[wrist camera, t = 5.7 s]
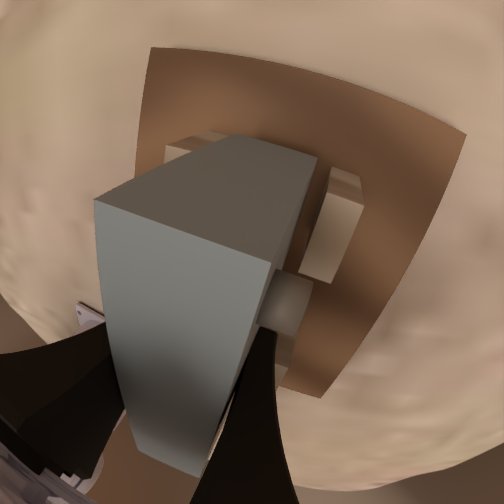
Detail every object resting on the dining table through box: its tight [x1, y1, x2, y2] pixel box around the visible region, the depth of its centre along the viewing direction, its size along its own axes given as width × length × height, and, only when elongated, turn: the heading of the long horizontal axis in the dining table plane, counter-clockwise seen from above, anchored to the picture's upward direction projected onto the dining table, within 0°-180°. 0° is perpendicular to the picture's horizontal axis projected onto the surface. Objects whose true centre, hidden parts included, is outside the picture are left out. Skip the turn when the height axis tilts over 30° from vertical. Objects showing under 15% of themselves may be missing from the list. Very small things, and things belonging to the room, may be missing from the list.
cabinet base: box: [135, 47, 466, 398], centre depth 14 cm, size 18×14×5 cm
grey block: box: [94, 134, 318, 478], centre depth 10 cm, size 12×4×7 cm, turn 167°
